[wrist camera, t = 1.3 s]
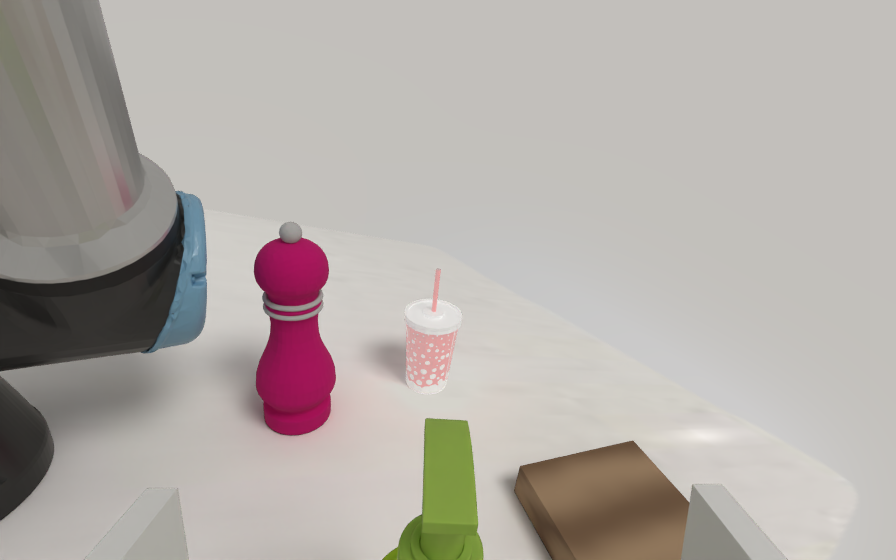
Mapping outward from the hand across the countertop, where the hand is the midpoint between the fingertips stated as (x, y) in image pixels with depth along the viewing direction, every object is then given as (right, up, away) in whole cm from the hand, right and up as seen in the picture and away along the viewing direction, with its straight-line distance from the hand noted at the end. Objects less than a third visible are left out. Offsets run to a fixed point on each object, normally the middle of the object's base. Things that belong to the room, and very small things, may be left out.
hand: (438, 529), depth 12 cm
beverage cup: (-2, -5, +42) cm, 42 cm away
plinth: (+14, -14, +27) cm, 33 cm away
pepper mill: (-15, -7, +35) cm, 39 cm away
